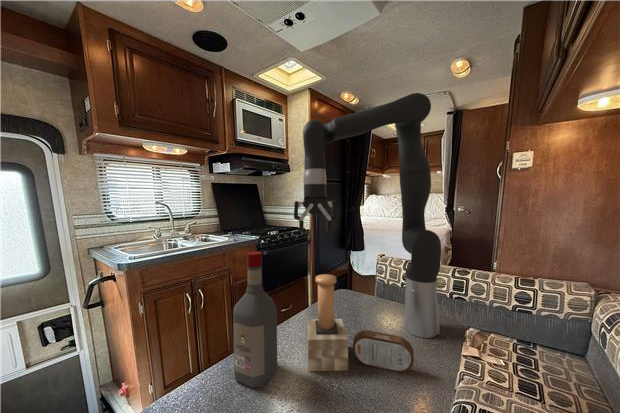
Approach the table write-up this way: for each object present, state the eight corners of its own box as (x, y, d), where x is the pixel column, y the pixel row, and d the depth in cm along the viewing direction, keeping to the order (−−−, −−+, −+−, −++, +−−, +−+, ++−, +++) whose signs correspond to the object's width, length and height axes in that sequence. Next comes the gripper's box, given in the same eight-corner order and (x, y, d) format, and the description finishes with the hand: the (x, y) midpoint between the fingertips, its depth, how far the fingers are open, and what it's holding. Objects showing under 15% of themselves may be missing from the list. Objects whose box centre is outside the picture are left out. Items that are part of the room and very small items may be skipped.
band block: (341, 345, 69) (341, 316, 69) (348, 370, 59) (347, 335, 59) (307, 346, 69) (307, 316, 68) (308, 371, 59) (307, 336, 58)
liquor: (259, 392, 52) (257, 259, 51) (228, 379, 56) (226, 255, 55) (281, 366, 61) (280, 250, 60) (253, 356, 64) (251, 247, 64)
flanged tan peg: (335, 347, 67) (334, 274, 66) (338, 360, 61) (337, 281, 60) (315, 347, 67) (315, 274, 66) (316, 361, 61) (316, 281, 60)
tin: (413, 369, 59) (413, 336, 59) (414, 378, 56) (414, 344, 56) (353, 356, 64) (353, 326, 64) (351, 364, 61) (351, 332, 61)
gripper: (293, 182, 74) (293, 233, 75) (337, 182, 75) (338, 233, 75) (294, 184, 82) (294, 230, 82) (334, 184, 82) (334, 230, 83)
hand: (315, 231), depth 79 cm, fingers open, 8 cm apart
